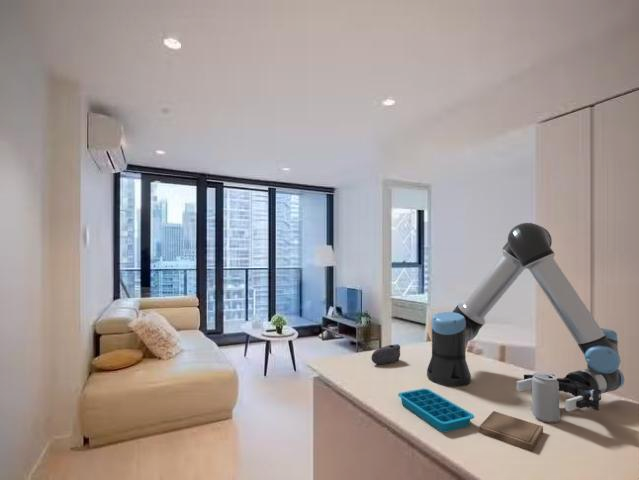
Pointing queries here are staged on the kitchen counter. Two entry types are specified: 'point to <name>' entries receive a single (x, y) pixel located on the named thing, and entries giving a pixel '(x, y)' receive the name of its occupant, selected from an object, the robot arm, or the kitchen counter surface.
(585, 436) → the kitchen counter surface
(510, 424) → the walnut block
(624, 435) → the kitchen counter surface
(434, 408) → the ice cube tray
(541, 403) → the beverage can
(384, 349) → the perforated stone tool
